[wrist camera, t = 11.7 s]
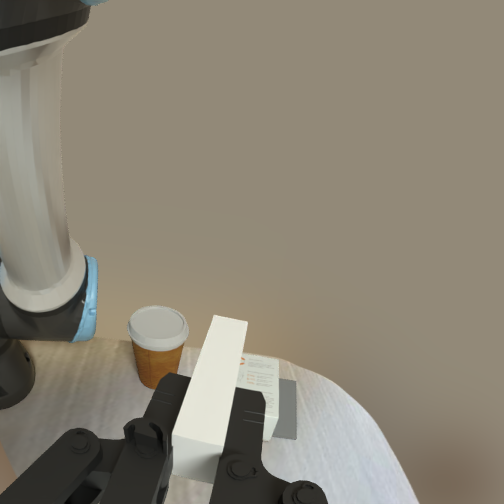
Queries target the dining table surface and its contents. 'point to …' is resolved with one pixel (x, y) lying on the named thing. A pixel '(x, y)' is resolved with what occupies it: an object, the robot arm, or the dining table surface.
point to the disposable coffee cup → (157, 342)
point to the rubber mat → (286, 411)
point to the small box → (262, 385)
